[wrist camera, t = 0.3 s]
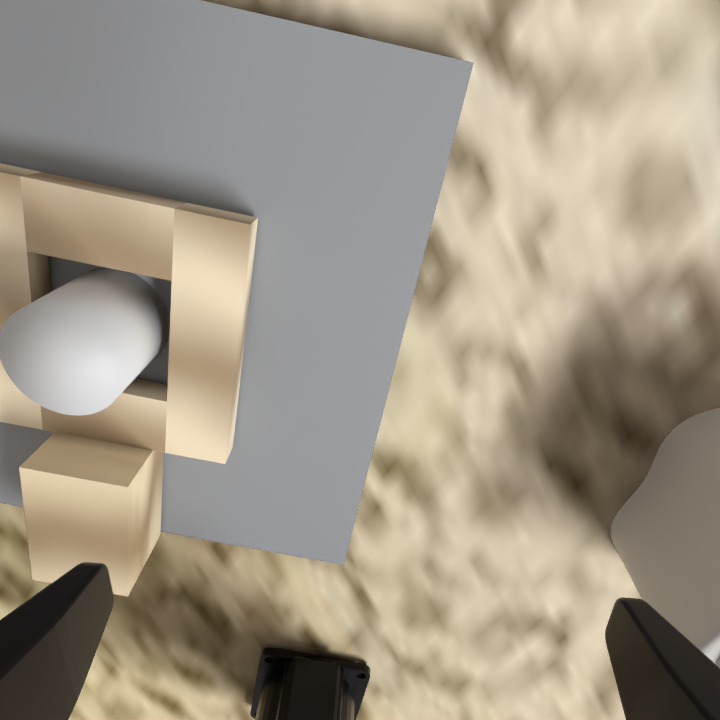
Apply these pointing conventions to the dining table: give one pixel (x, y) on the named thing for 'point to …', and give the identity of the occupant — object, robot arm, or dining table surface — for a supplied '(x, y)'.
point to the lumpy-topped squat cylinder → (679, 532)
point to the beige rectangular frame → (141, 398)
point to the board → (272, 247)
